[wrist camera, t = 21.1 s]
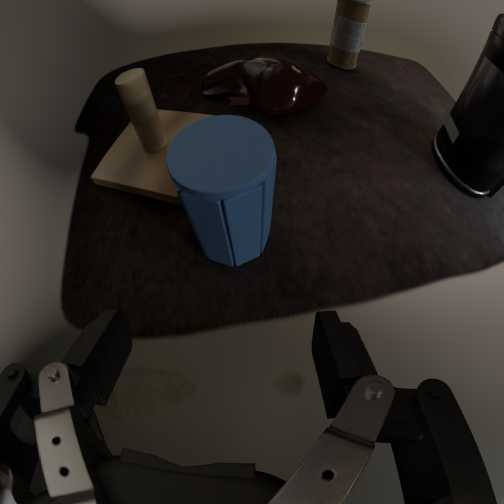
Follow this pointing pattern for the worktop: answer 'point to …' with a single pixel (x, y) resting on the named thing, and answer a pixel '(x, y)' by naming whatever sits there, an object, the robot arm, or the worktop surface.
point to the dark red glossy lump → (265, 85)
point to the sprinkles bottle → (348, 32)
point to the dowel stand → (143, 143)
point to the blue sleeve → (225, 184)
